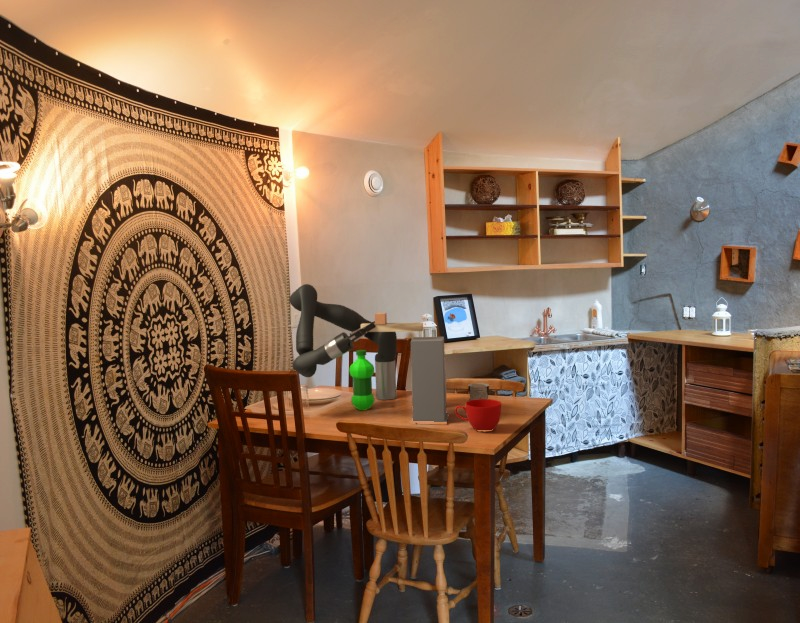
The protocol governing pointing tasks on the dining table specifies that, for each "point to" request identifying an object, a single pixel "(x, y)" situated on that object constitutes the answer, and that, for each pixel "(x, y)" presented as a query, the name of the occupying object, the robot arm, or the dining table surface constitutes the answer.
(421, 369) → the stand
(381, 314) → the orange cube
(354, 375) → the plastic bottle
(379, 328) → the tan wooden bar
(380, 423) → the dining table surface
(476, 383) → the coffee mug
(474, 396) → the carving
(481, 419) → the ceramic cup
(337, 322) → the robot arm
